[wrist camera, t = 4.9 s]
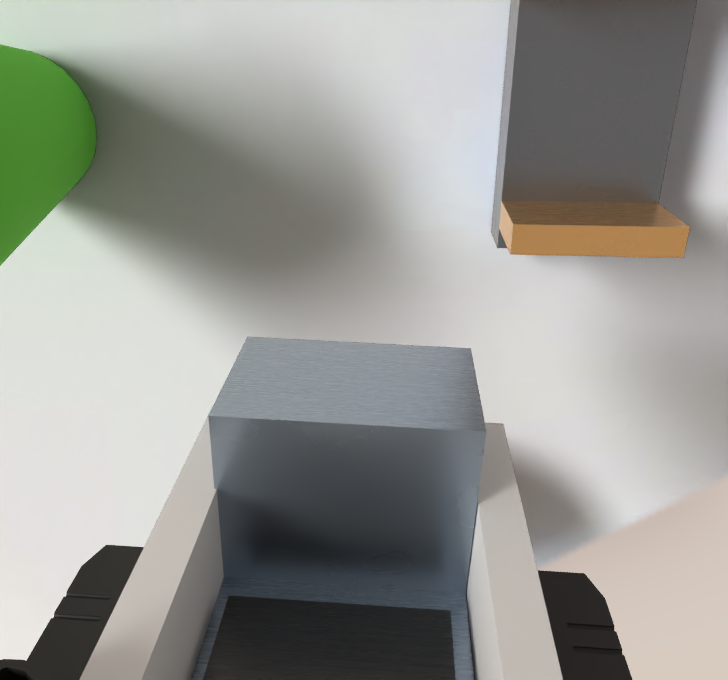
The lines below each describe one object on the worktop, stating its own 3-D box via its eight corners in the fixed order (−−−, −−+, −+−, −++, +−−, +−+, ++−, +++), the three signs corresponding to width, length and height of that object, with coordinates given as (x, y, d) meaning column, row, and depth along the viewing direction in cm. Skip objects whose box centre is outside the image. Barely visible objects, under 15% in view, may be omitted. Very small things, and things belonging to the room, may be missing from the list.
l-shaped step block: (247, 337, 14) (71, 694, 7) (470, 348, 14) (542, 728, 6) (258, 561, 16) (141, 992, 9) (445, 573, 16) (476, 1023, 9)
